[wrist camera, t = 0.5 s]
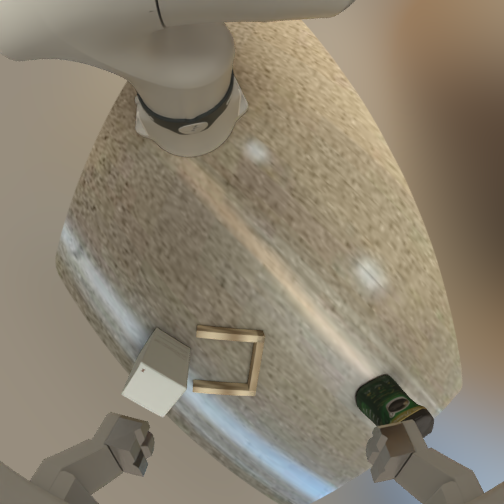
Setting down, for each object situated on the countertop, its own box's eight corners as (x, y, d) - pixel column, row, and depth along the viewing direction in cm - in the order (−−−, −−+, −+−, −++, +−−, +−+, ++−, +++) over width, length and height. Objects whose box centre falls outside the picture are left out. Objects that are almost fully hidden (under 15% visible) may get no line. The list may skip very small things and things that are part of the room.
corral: (193, 384, 48) (192, 392, 45) (197, 324, 47) (196, 330, 44) (252, 388, 50) (254, 396, 47) (262, 330, 48) (265, 336, 46)
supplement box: (137, 355, 46) (118, 394, 33) (156, 325, 46) (140, 360, 33) (171, 376, 47) (162, 419, 35) (192, 349, 47) (187, 388, 35)
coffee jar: (356, 411, 54) (394, 462, 36) (352, 387, 53) (396, 439, 35) (391, 393, 55) (435, 436, 37) (390, 368, 54) (439, 411, 36)
